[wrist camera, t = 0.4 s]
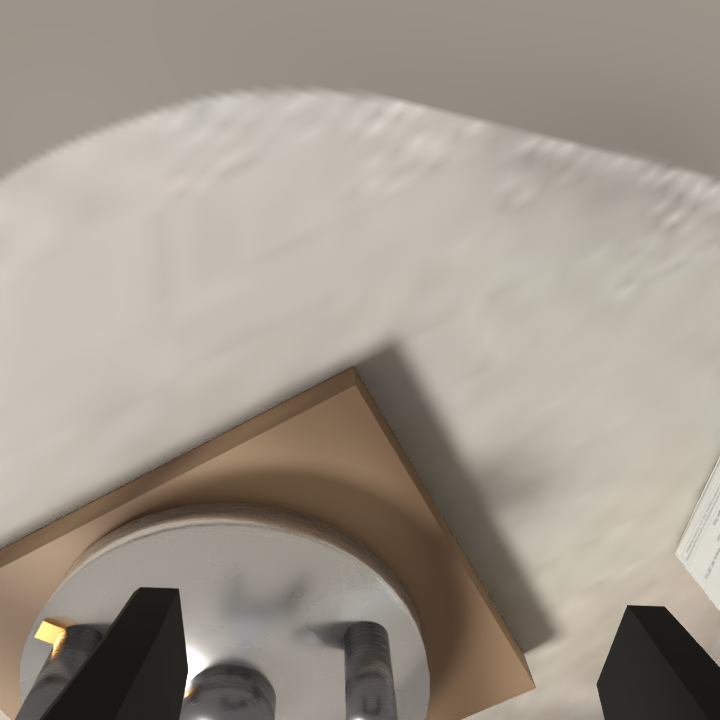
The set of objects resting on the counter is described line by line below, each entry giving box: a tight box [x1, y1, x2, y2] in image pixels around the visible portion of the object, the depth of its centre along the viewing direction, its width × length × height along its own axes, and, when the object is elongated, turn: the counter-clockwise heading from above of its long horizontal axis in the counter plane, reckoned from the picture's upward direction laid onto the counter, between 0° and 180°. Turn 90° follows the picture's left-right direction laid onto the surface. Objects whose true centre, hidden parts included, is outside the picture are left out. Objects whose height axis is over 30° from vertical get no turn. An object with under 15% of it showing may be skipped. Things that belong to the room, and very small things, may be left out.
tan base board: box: [0, 366, 536, 720], centre depth 22 cm, size 17×14×2 cm
